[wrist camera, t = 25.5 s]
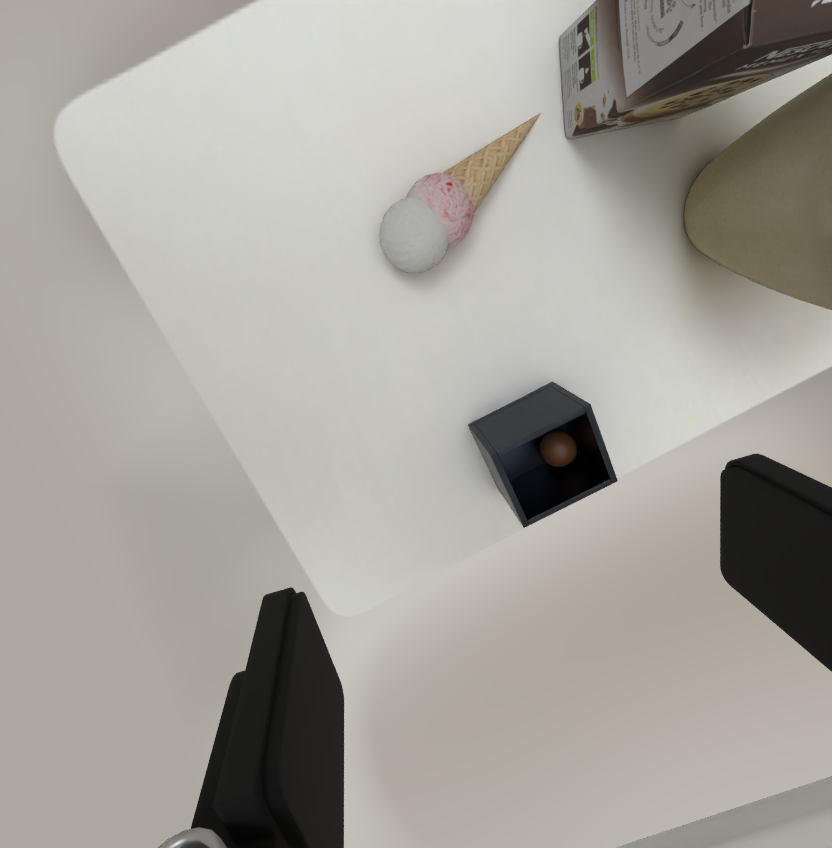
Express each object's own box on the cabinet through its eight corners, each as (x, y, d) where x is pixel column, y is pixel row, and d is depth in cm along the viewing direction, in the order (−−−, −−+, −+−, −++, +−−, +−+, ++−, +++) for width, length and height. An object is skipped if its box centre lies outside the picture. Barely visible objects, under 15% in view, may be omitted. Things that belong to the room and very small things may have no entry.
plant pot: (706, 340, 40) (919, 389, 25) (601, 211, 35) (788, 177, 20) (847, 201, 38) (1174, 163, 23) (756, 41, 33) (1093, -136, 18)
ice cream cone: (506, 78, 32) (353, 224, 31) (559, 75, 29) (391, 237, 28) (525, 144, 36) (388, 278, 34) (574, 147, 33) (426, 295, 31)
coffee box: (564, 144, 33) (744, 50, 18) (557, 34, 31) (755, -175, 16) (683, 120, 34) (952, 11, 19) (685, 11, 32) (991, -210, 17)
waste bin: (498, 489, 42) (524, 528, 36) (467, 424, 40) (489, 454, 34) (578, 448, 42) (618, 481, 36) (552, 381, 39) (590, 403, 33)
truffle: (538, 473, 39) (573, 475, 39) (550, 448, 37) (586, 451, 37) (531, 446, 41) (564, 449, 42) (542, 422, 39) (576, 424, 39)
